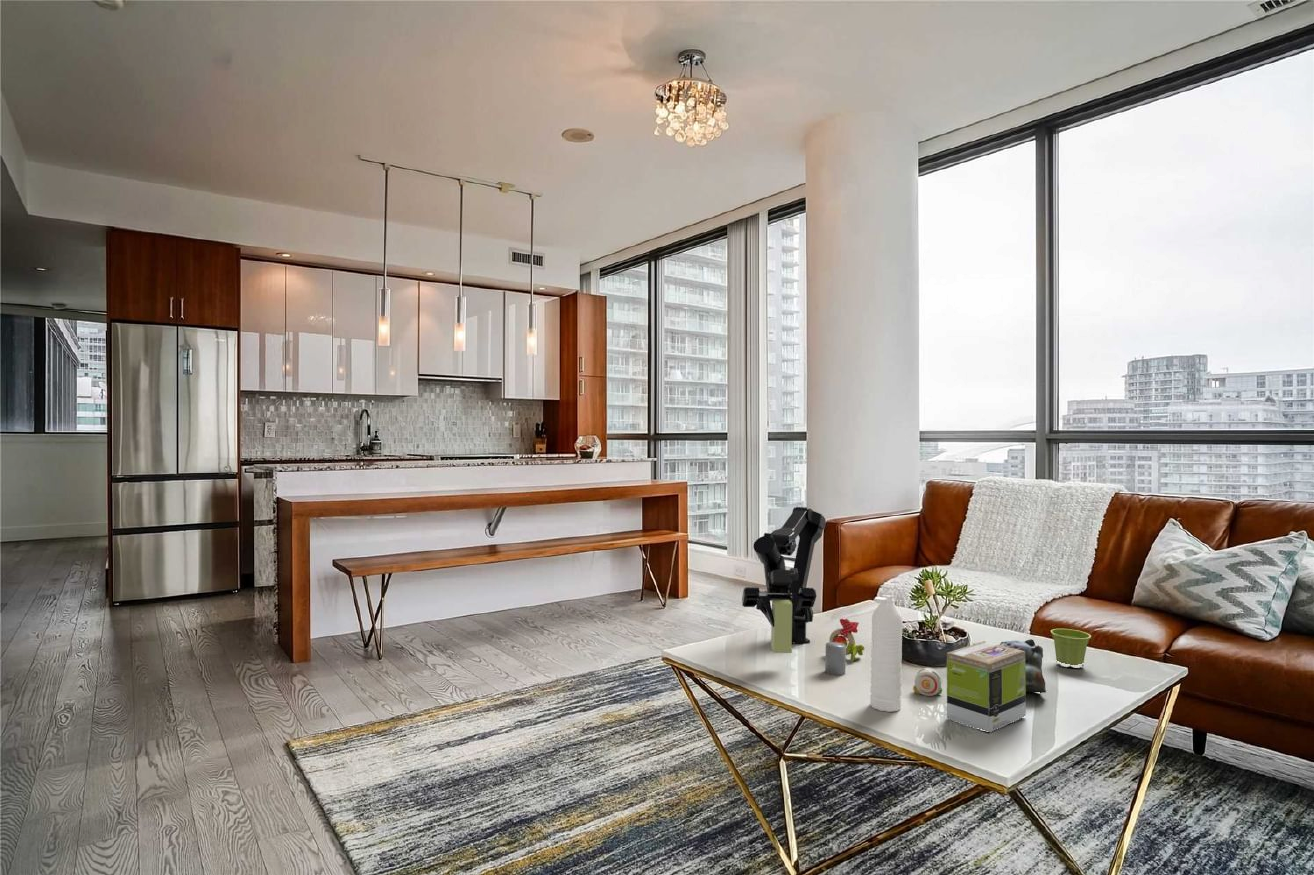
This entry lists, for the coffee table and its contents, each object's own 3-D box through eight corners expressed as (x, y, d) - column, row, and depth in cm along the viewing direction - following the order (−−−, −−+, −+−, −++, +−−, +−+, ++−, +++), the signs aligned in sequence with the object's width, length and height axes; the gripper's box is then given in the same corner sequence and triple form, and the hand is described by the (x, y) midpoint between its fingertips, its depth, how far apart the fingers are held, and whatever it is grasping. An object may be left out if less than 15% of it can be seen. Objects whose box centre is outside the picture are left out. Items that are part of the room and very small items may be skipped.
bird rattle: (832, 667, 202) (863, 659, 197) (817, 626, 204) (847, 617, 199) (841, 661, 207) (871, 653, 202) (826, 622, 209) (855, 613, 205)
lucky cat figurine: (969, 688, 180) (970, 631, 186) (999, 700, 185) (999, 644, 191) (1028, 687, 168) (1027, 626, 174) (1059, 701, 173) (1057, 641, 180)
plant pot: (1098, 669, 197) (1099, 636, 197) (1072, 672, 193) (1073, 639, 193) (1067, 658, 206) (1068, 627, 205) (1041, 662, 202) (1042, 630, 202)
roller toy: (941, 699, 172) (941, 674, 172) (912, 695, 175) (912, 670, 175) (942, 693, 176) (943, 669, 176) (914, 689, 179) (914, 665, 179)
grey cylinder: (822, 669, 193) (822, 642, 193) (840, 668, 194) (840, 641, 193) (830, 676, 188) (830, 648, 188) (848, 675, 189) (849, 647, 189)
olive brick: (771, 647, 194) (772, 599, 194) (788, 647, 194) (788, 599, 194) (774, 652, 190) (775, 603, 190) (791, 653, 190) (792, 603, 190)
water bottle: (876, 699, 172) (878, 590, 171) (904, 706, 168) (907, 594, 167) (862, 710, 165) (864, 597, 164) (891, 717, 161) (893, 601, 160)
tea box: (982, 704, 170) (984, 639, 169) (1026, 719, 161) (1028, 650, 161) (944, 719, 161) (946, 650, 160) (989, 735, 152) (990, 662, 152)
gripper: (744, 556, 195) (749, 608, 184) (815, 557, 196) (825, 609, 185) (739, 580, 203) (744, 631, 192) (808, 581, 204) (817, 632, 193)
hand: (782, 626), depth 190 cm, fingers closed on olive brick, 4 cm apart
